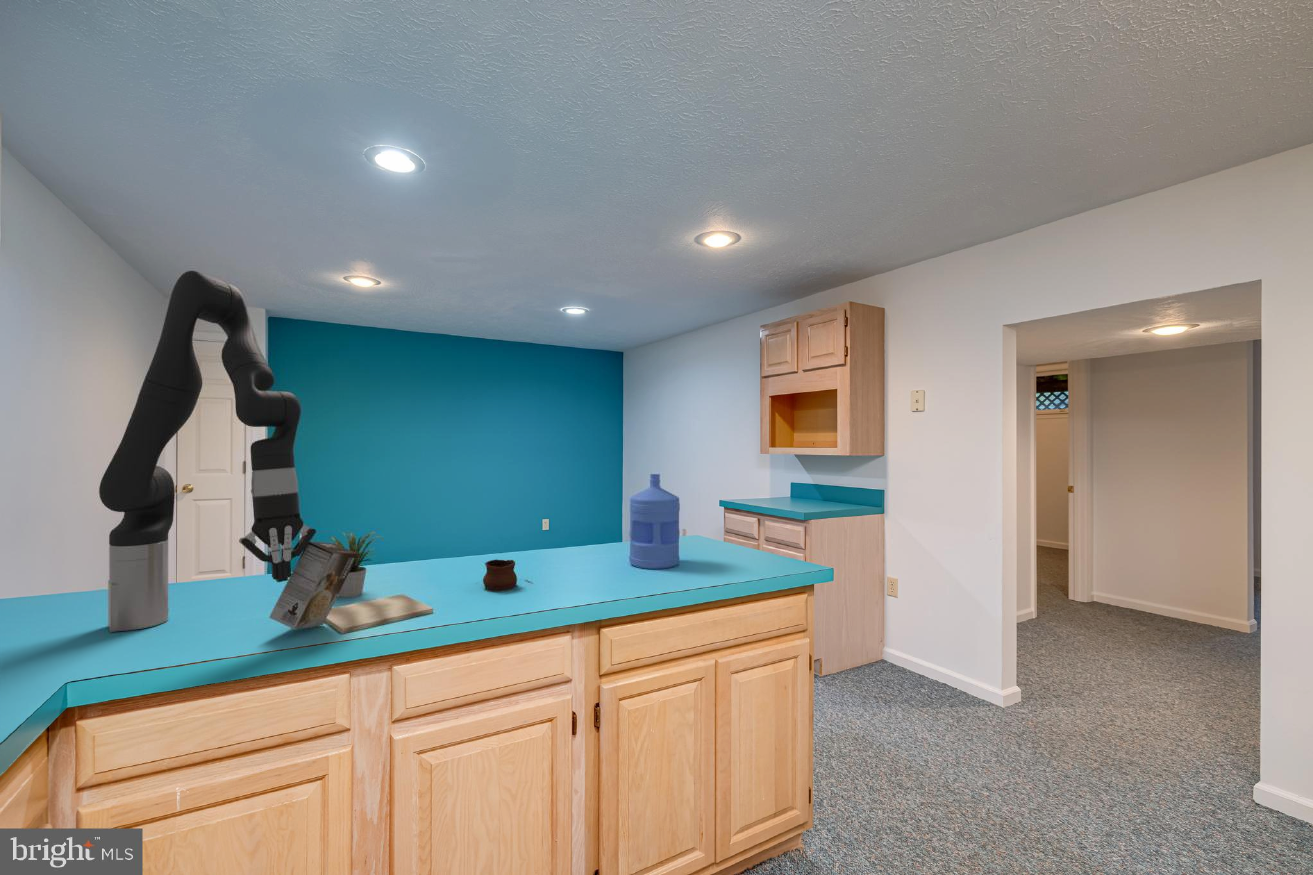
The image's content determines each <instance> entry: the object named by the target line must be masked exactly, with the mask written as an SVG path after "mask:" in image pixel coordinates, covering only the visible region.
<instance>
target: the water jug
mask: <svg viewBox="0 0 1313 875" xmlns="http://www.w3.org/2000/svg"><path fill="white" fill-rule="evenodd" d="M649 476H650V479H649V484H650V485H649V487H648V488H646V489H644V490H642V491H640V492H638V493H636V494H634V495H632V496H631V497H630V500H629V511H630V512H629V513H630V515H629V517H630V518H629V556H628V558H629V563H630V565H632V566H633V567H635V568H639V569H647V570H663V569H670V568H674V567H676V566H678V565H679V563H680V534H681V532H680V531H681V530H680V510H681V506H680V498H679V496H677V495H675V494H673V493H672V492H670V491H668V490H666V489H663V488H662V487H661V480H660V478H661V474H660V473H650V474H649Z"/></svg>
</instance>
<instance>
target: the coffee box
mask: <svg viewBox="0 0 1313 875" xmlns="http://www.w3.org/2000/svg"><path fill="white" fill-rule="evenodd" d="M357 555H358V553H355V552H353V551H351V550H350V549H348V548H347V547H345V546H344V547H342V546H339V545H337V544H336V543H335V542H327V543H326V542H322V541H320V542H318V541H310V542H309V543H308V545H307V546H306V547H305V549H304V550H303V552H302V553H301V555H300V556H299V559H298V560H297V562H296V565H295V567H294V568H293V570H292V571H291V576H290V577H288V581H286V583H285V585H284V587H283V589H282V592H281V594H280V596H279V598H278V600H277V601H276V603H275V605H274V607H273V608H272V611H271V612H270V614H269V617H268V618H269V619H271V620H273V621H275V622H277V623H280V624H282V625H284V626H286V627H287V628H288V627H289V628H291V629H293V630H294V631H295V630H296V631H297V630H301V629H307V628H314V627H318V626H324V624H325V623H326V622H325V620H326V618H327V616H328V614H329V612H330V610H331V608H333V606H334V603H336V600H337V597H339V592H340V590H341V588H342V586H343V584H344V582H345V580H346V578H347V576H348V574H349V572H350V570H351V568H352V565H353V563H354V561H355V559H356V557H357Z"/></svg>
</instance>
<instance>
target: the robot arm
mask: <svg viewBox="0 0 1313 875" xmlns="http://www.w3.org/2000/svg"><path fill="white" fill-rule="evenodd" d="M168 302H169V303H168V306H167V310H166V312H165V317H164V322H163V325H162V330H161V334H160V337H159V340H158V343H157V346H156V348H155V351H154V355H153V358H152V360H151V363H150V365H149V367H148V370H147V372H146V374H145V377H144V380H143V382H142V385H141V387H140V390H139V393H138V396H137V399H136V402H135V405H134V408H133V410H132V413H131V416H130V418H129V421H128V423H127V425H126V428H125V431H124V434H123V436H122V439H121V441H120V443H119V445H118V447H117V449H116V451H115V453H114V454H113V456H112V458H111V461H110V462H109V464H108V466H107V468H106V470H105V472H104V473H103V475H102V478H101V480H100V484H99V487H98V488H99V489H98V493H99V499H100V501H101V503H102V504H103V506H105V508H107V509H109V511H113V512H116V513H123V517H122V520H121V521H120V522H119V524H118V525H117V526H115V527H114V528H113V529H112V530H111V531H110V533H109V537H108V540H109V542H108V546H109V547H108V551H109V553H108V555H109V558H108V560H109V561H108V566H109V567H108V571H109V573H108V575H109V576H108V578H109V579H108V581H107V593H108V594H107V601H108V602H107V603H108V604H107V608H108V609H107V616H108V618H107V620H108V621H107V623H108V624H107V625H108V628H109V629H108V630H109V633H114V632H124V631H135V630H140V629H146V628H152V627H154V626H157V625H161V624H163V623H166V622H167V621H168V620H169V532H170V530H171V528H172V526H173V522H174V515H175V514H174V513H175V496H176V495H175V494H176V491H175V490H176V489H175V482H174V479H173V477H172V475H171V474H170V472H169V471H168V470H166V469H165V468H164V467H162V466H159V465H158V463H159V458H160V456H161V455H162V453H163V450H164V448H165V447H166V446H167V445H168V443H169V442H170V440H171V439H173V437H175V435H176V434H178V432H179V431H180V430H181V428H183V426H184V425H185V423H187V421H189V418H190V417H191V415H192V414H193V412H194V410H195V408H196V405H197V402H198V401H199V396H200V395H201V394H200V393H201V391H202V388H203V377H202V373H201V369H200V365H199V362H198V360H197V357H196V353H195V351H194V343H193V336H194V331H195V326H196V323H197V320H198V319H199V320H201V321H205V322H207V323H212V324H216V325H219V327H220V328H221V329H222V330H223V332H224V333H225V335H226V336H227V339H226V340H225V342H224V344H223V346H222V349H221V360H222V366H223V367H224V369H225V371H226V373H227V375H228V377H229V380H230V381H231V384H232V387H233V392H234V393H233V394H234V399H235V401H234V403H235V414H236V417H237V418H238V420H239V421H240V422H241V423H243V424H244V425H246V426H248V427H252V428H271V427H275V428H274V430H273V433H272V435H271V436H270V437H267V438H262V439H258V440H255V441H253V442H251V445H250V463H251V484H250V485H251V486H250V487H251V490H250V492H251V498H252V508H253V524H252V526H251V528H250V529H251V531H250V532H249V533H248V534H247V535H245V536H243V537H241V538H240V539H239V540H238V542H239V544H241V545H242V547H244V548H246V550H248V551H249V553H250V554H252V555H253V556H255V557H256V558H257V559H258V560H260V561H261V562H264V563H270V568H271V569H270V570H271V578H272V579H273V580H274V581H276V583H281V582H288V580H289V578H290V576H291V574H292V566H291V561H292V559H294V558H296V557H300V556H301V554H302V552H303V550H304V549H305V547H306V546H307V545H308V543H309V542H311V541H312V539H313V538H314V536H315V534H316V533H317V530H316V529H315V528H311V527H309V526H308V525H306V524H305V523H304V520H303V519H302V517H301V513H300V499H299V497H300V496H299V487H298V486H299V485H298V477H297V473H296V465H295V464H296V463H295V456H294V455H295V453H294V452H295V451H294V448H295V447H294V446H295V441H296V436H297V431H298V427H299V423H300V419H301V414H302V407H301V403H300V401H299V400H298V397H297V396H296V395H295V394H293V393H292V392H290V391H282V390H281V391H278V390H277V391H276V390H271V389H272V388H273V386H274V384H275V375H274V373H273V372H272V369H271V367H270V365H269V364H268V362H267V360H266V358H265V357H264V355H263V353H262V351H261V349H260V347H259V343H258V342H257V339H256V335H255V332H254V328H253V324H252V320H251V317H250V315H249V314H250V313H249V310H248V306H247V303H246V301H245V298H244V296H243V294H242V292H241V291H240V289H238V288H237V287H236V286H234V285H233V284H230V283H229V282H226V281H223V280H221V279H219V278H216V277H214V276H210V275H207V274H205V273H203V272H199V271H197V270H188V271H185V272H184V273H182V274H181V275H180V276H179V277H178V279H177V280H176V282H175V284H174V286H173V289H172V290H171V295H170V299H169V301H168ZM299 532H300V533H299ZM298 534H300V536H301V537H300V539H298V541H297V543H296V544H295V546H294V547H292V544H293V543H292V542H294V540H295V539H296V537H297V536H298ZM256 537H257V538H258V539H259V540H260V541H261V542H262V543H263V544H264V545H267V546H266V547H267V550H268V554H266V552H264V551H263V550H262V549H261V548H259V547H258V546H257V545H256V543H257V539H256ZM279 545H280V546H279Z"/></svg>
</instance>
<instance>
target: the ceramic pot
mask: <svg viewBox="0 0 1313 875" xmlns="http://www.w3.org/2000/svg"><path fill="white" fill-rule="evenodd" d="M484 565H485V568H486V573H485V574H484V576H483V578H482V582H483V586H484V588H485V590H487V591H491V592H506V591H510V590H514V589H515V588H516V586H517V584H518V582H517V581H518V577H517V573H516V572H515V566H516V562H515V560H514V559H507V560H505V559H492V560H488V561H486V562H484ZM519 580H521V581H522V579H519ZM524 582H527V583H528V584H529V583H530V584H532V585H534V583H533V581H529V580H528V579H524Z"/></svg>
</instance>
